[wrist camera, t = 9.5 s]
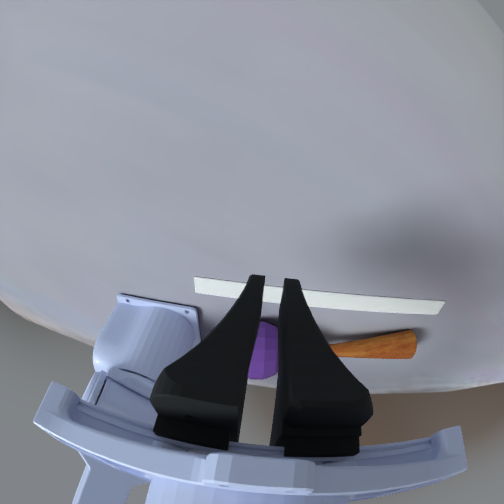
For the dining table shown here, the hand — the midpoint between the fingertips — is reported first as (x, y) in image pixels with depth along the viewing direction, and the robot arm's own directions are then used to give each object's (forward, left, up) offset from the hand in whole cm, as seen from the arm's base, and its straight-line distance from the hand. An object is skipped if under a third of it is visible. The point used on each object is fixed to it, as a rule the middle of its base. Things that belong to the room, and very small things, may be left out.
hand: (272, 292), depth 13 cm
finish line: (+6, -9, -9) cm, 14 cm away
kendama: (+7, -14, -10) cm, 18 cm away
